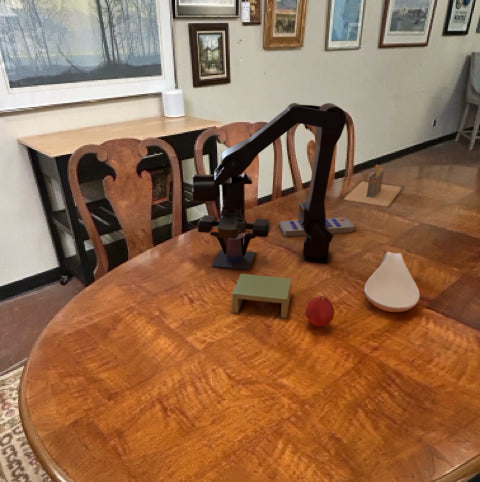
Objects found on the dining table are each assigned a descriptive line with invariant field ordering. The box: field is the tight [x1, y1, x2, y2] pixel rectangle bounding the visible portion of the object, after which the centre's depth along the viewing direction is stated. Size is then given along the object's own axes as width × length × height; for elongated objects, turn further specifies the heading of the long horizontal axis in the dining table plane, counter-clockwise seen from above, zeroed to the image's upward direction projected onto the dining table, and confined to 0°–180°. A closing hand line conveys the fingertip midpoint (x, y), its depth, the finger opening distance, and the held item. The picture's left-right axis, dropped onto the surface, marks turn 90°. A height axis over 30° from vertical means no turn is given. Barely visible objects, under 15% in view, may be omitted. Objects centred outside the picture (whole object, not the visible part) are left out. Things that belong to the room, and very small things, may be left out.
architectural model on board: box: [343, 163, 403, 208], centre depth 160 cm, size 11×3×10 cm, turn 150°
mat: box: [212, 249, 257, 271], centre depth 115 cm, size 10×10×1 cm
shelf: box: [231, 273, 292, 319], centre depth 95 cm, size 12×9×5 cm
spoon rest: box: [363, 251, 421, 313], centre depth 99 cm, size 24×12×7 cm, turn 163°
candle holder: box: [226, 233, 244, 263], centre depth 113 cm, size 5×5×7 cm
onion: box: [305, 294, 335, 328], centre depth 87 cm, size 6×6×8 cm
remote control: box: [279, 217, 356, 237], centre depth 132 cm, size 8×23×2 cm, turn 96°
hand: (234, 254), depth 115 cm, fingers closed on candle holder, 5 cm apart
